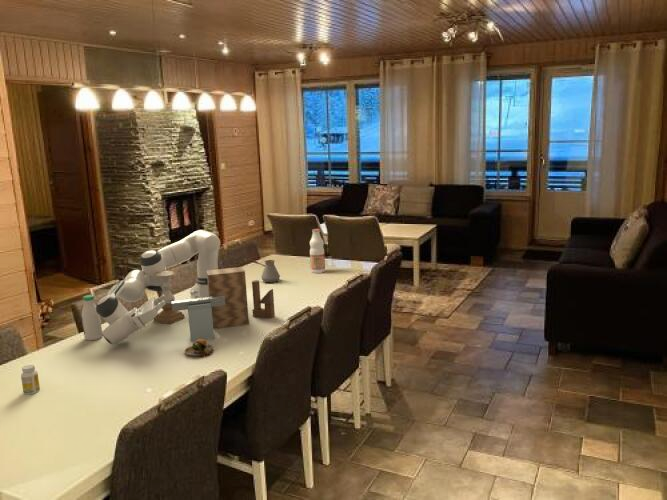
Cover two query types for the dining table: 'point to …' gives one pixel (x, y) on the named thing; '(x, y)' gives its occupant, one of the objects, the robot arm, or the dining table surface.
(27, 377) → the supplement bottle
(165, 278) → the candle holder
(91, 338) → the milk bottle
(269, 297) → the wooden block
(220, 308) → the brown tall rectangular box
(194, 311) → the block
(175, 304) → the bar
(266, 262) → the coffee pot
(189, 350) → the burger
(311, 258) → the fruit juice
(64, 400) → the dining table surface
